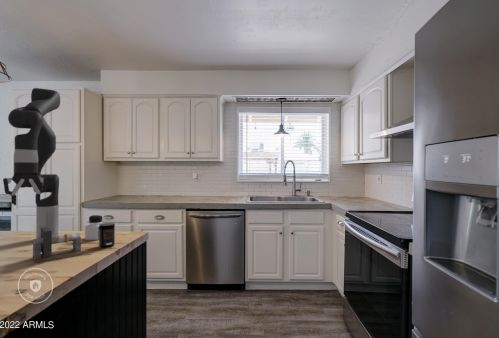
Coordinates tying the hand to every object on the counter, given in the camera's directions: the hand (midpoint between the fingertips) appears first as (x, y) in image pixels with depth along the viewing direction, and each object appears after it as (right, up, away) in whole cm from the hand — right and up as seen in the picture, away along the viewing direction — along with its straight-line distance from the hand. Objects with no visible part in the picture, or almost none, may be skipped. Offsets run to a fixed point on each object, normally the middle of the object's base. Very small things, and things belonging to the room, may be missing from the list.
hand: (26, 204), depth 111 cm
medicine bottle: (+7, -23, +37) cm, 44 cm away
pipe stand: (+7, -23, +7) cm, 25 cm away
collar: (+5, -21, +5) cm, 22 cm away
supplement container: (+20, -23, +23) cm, 38 cm away
